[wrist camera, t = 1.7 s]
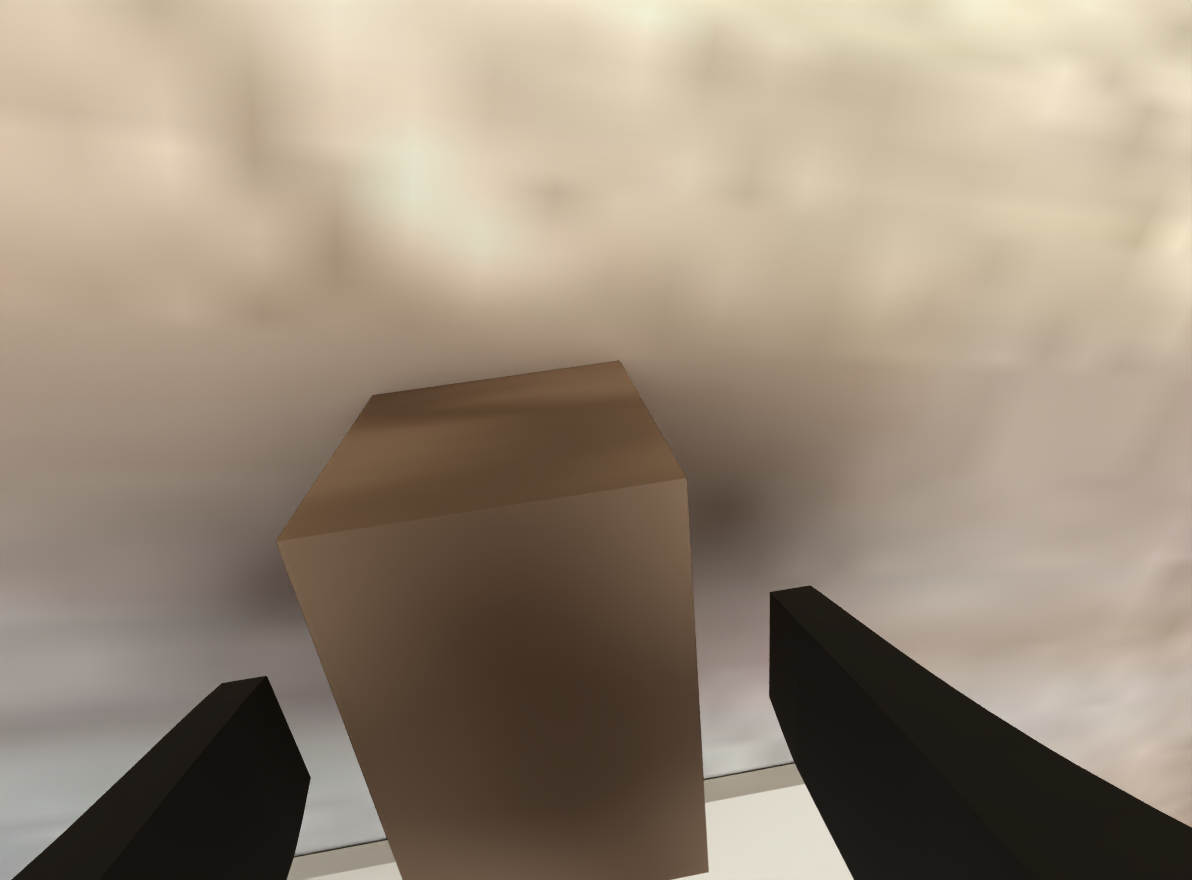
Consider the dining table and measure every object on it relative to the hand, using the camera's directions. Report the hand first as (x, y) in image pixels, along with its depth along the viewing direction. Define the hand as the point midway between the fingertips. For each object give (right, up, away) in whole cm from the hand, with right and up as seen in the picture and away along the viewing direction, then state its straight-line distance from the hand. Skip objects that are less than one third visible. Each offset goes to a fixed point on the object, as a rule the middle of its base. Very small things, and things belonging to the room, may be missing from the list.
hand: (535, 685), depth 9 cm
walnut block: (-1, +2, +4) cm, 4 cm away
